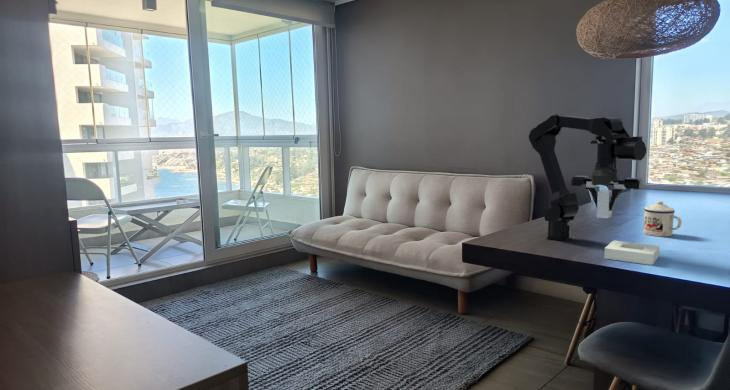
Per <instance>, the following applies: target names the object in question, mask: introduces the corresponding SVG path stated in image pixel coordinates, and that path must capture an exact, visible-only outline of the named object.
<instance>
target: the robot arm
mask: <svg viewBox="0 0 730 390" xmlns="http://www.w3.org/2000/svg"><path fill="white" fill-rule="evenodd" d="M563 128H568V129H575V130H582V131H583V130H584V131H586V132H588V133H590V134H592V135H595V137H594V138H593V139H592V140H591V141H590V145H591V144H592V145H596V156H595V157H596V159H595V160H596V161H595V167H594V169H593V171H592V173H591V175H590V176H591V177H589V175H575V176H573V177H571V180H570V186H573V187H574V186H575V187H582V186H583V185H585V186H584V188H585V189H584V190H588V192H590V194H591V196H592V199H593V202H594V204H595V207H596V209H597V198H598V191H600V186H603V187H604V186H605V187H608V186H613V188H612V189H611V191H612V196H611V202H610V211H613V209H614V207H615V204H616V202H617V201H618V200H617V199H618V198H619V196H620V194H621V193H622V192H624V191H625V190H629V189H631V190H639V189H641V188H643V179H642V178H641V177H625V178H624V179H619V177H620V176H619V169H618V160H621V161H641V160H642V161H643V159H644V158H645V157H646V154H647V147H646V144H645V142H644V140H643V136H640V135H639V136H630V134H629V133H628V131H627V130H626V128H625V126H624V124H623V121H622V119H621V118H619V117H615V116H612V117H611V116H607V117H606V116H604V117H603V116H600V117H583V116H582V117H580V116H574V115H573V116H572V115H565V114H562V113H561V114H560V113H559V114H557V113H556V114H552V115H551V116H550V117H548V118H547V119H546V120H544V121H542V122H541V123H539V124H537V125H536V126H535V127H533V128H532V129H531V130H530V132H529V134H528V140H529V143H530V145H531V147H532V148H533V149H534V150H535V151H536V152H537V154H539V157H540V160H541V163H542V166H543V169H544V173H545V176H546V179H547V183H548V186H549V190H550V192H551V195H550V199H549V205H550V206H549V207H550V208H549V209H548V210H547V211H546V212H545V213H544V214H543V217H544V220H545V222H548V225H547V228H548V229H547V236H546V237H545V239H548V240H553V241H556V240H557V241H561V242H562V241H564V242H567V241H568V240H570V239H572V229H573V226H572V225H571V221H574V220H575V217H576V215H577V214H578V211H579V209H580V208H579V205H580V202H579V201H578V198H577V194H576V192H570V191H569V190H568V189H567V186H566V183H565V179H564V177H563V173H562V171H561V170H562V169H561V167H560V164H559V159H558V158H557V155H556V154H557V153H556V151H555V150H556V144H557V139H556V137H557V136H558V135H560V133H561V131H562V129H563Z"/></svg>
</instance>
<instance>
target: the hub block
mask: <svg viewBox="0 0 730 390" xmlns="http://www.w3.org/2000/svg"><path fill="white" fill-rule="evenodd" d="M659 256H660V245H657V244H647V243H640V242H632V241H631V242H630V241H623V240H615V239H613V240H612V241H611V242H610V243H609V244H608V245H606V246H605V247H604V256H603V257H604V259H607V260H614V261H620V262H627V263H635V264H640V265H641V264H642V265H643V264H644V265H648V266H649V265H650V266H654V264H655V262H656V261H657V259H658V258H659Z"/></svg>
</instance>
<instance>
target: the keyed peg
mask: <svg viewBox="0 0 730 390" xmlns="http://www.w3.org/2000/svg"><path fill="white" fill-rule="evenodd" d="M611 196H612V190H607V189H606V190H605V189H601V190H600V191H598V198H597V208H596V218H597V219H598V218H599V219H600V218H601V219H609V218H612V214H613V213H612V211H613V210H612V211H610V202H611Z"/></svg>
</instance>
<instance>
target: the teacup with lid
mask: <svg viewBox="0 0 730 390" xmlns="http://www.w3.org/2000/svg"><path fill="white" fill-rule="evenodd" d="M643 210H644V219H643V231H642V232H643V234H644V235H648V236H653V237H661V238H662V237H664V238H665V237H671V236H672V235H673V231H676V230H679V229H680V228H681V226H682V223H683V222H682V218H681V217H680V216H677V215H675V212H676V211H675V208H672V207H670V206H668V205H667V204H666V203H665V204H664V201H663V200H657V201H656V203H653V204H651V205H649V206H645V207H644V208H643ZM674 219H676V220H677V225H676V227H674Z"/></svg>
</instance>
